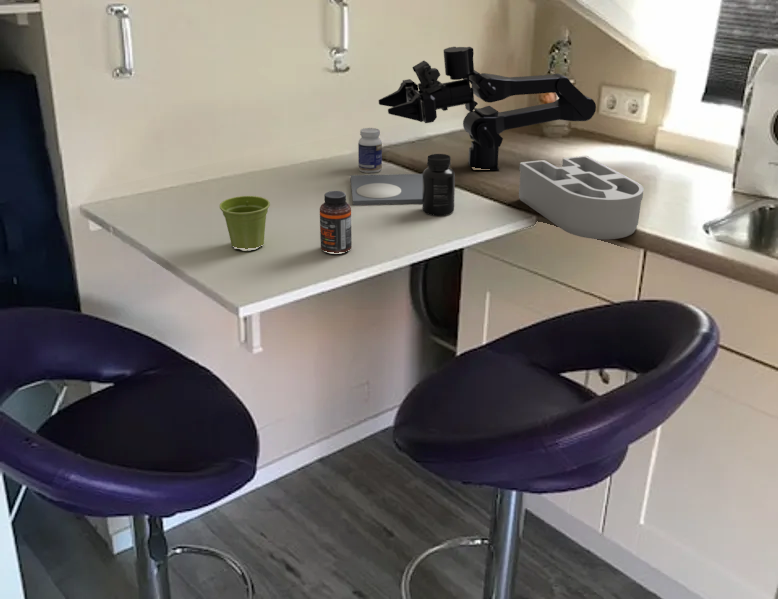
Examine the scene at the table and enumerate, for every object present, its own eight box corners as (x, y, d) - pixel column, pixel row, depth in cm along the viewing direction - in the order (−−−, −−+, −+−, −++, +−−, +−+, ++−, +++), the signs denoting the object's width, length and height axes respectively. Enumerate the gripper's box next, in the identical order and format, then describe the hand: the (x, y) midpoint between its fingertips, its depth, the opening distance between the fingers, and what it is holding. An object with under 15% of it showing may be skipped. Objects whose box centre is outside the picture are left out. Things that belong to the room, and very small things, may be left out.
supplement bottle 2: (459, 208, 185) (461, 154, 180) (446, 218, 180) (447, 163, 175) (430, 203, 188) (431, 150, 183) (416, 213, 183) (417, 158, 177)
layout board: (443, 177, 205) (443, 172, 204) (453, 202, 189) (453, 197, 188) (350, 179, 204) (350, 174, 203) (353, 205, 187) (352, 199, 187)
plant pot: (277, 252, 164) (274, 209, 160) (227, 258, 161) (224, 215, 157) (266, 235, 172) (264, 193, 168) (219, 241, 169) (215, 199, 165)
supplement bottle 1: (314, 252, 164) (312, 195, 159) (332, 241, 168) (330, 186, 163) (340, 258, 161) (338, 201, 156) (357, 248, 166) (357, 192, 161)
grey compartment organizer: (582, 192, 196) (586, 155, 192) (654, 235, 172) (660, 194, 168) (516, 200, 191) (519, 162, 187) (581, 245, 167) (585, 203, 163)
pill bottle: (381, 173, 208) (381, 133, 203) (357, 173, 208) (357, 133, 203) (382, 166, 213) (382, 126, 208) (359, 166, 213) (358, 126, 208)
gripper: (432, 53, 206) (369, 64, 204) (457, 68, 190) (388, 80, 187) (437, 99, 211) (375, 110, 209) (461, 117, 195) (394, 129, 192)
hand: (383, 106), depth 199 cm, fingers open, 9 cm apart
